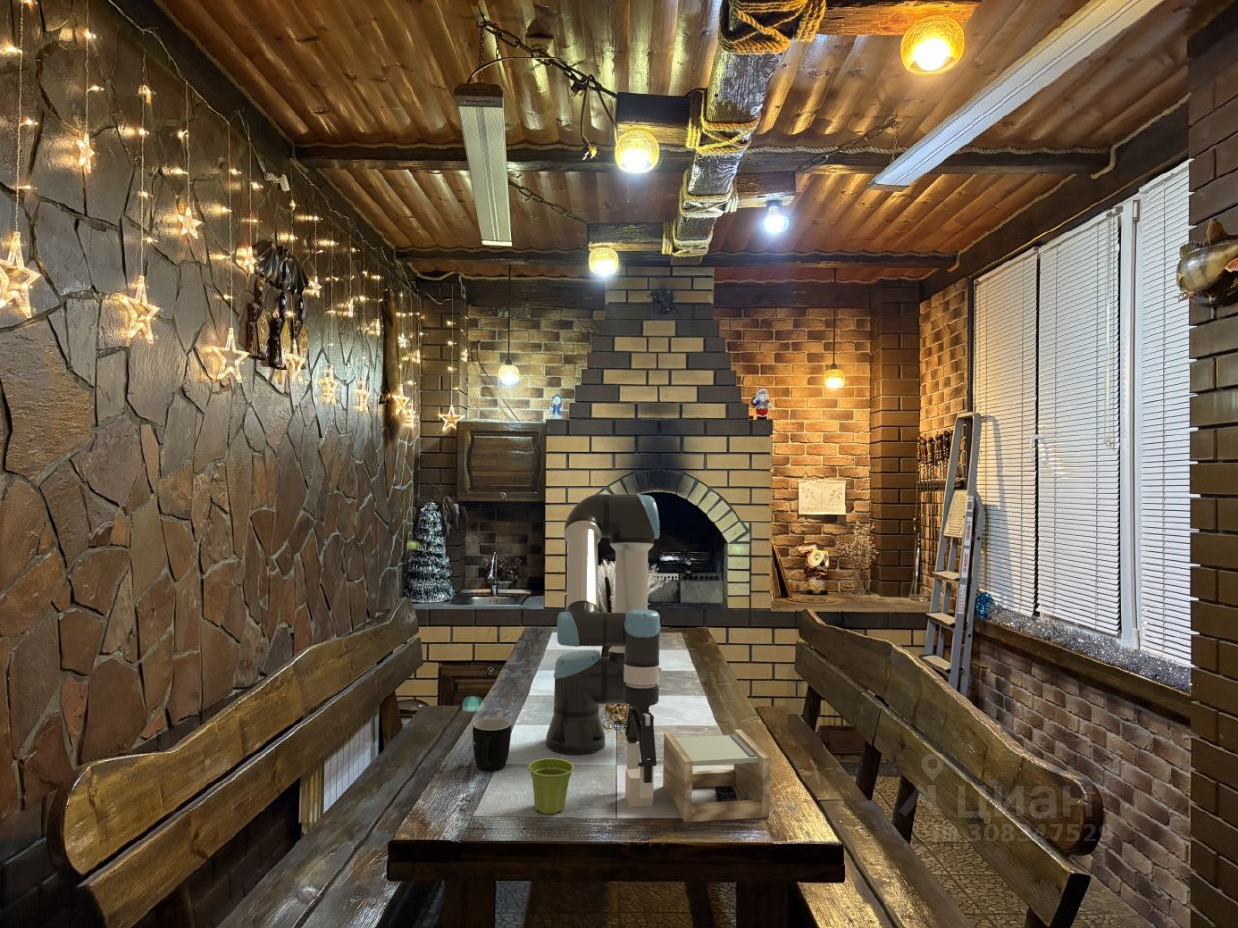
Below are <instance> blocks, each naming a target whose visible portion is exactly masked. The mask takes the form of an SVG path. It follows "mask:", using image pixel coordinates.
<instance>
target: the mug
mask: <svg viewBox="0 0 1238 928" xmlns="http://www.w3.org/2000/svg"><path fill="white" fill-rule="evenodd" d="M511 736H512V722H511V721H510V720H509V719H505V718H501V717H487V718H482V719H481V718H480V719H478V720H476V721H474V722H473V724H472V744H473V745H472V746H473V756H474V761H475V765H476V767H477V769H478V770H480V771H482V772H491V773H492V772H497V771H501V770H502V769H504V768H505V767H506V764H507V762H508V758H509V753H510V747H511V739H512V738H511Z"/></svg>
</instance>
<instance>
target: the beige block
mask: <svg viewBox="0 0 1238 928" xmlns="http://www.w3.org/2000/svg"><path fill="white" fill-rule="evenodd" d="M624 778H625V779H624V780H625V783H624V785H625V787H624V788H625V789H624V798H625V800H626V802H627V805H628V808H637V807H652V806H654V797H653V798H640V797H639V793H640V768H639V769H627V768H626V769H625V777H624Z"/></svg>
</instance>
